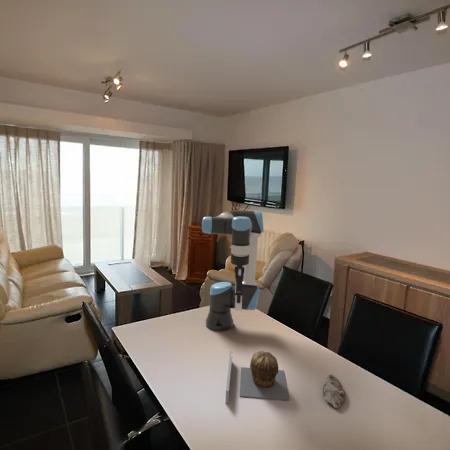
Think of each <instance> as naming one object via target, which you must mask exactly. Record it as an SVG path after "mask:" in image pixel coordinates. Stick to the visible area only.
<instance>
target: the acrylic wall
mask: <svg viewBox="0 0 450 450" xmlns="http://www.w3.org/2000/svg"><path fill="white" fill-rule="evenodd" d="M228 361H229V362H228V368H227V378H226V386H225V387H226V388H225V404H227V405H229V399H230V390H231V388H230V387H231V377H232V370H233V369H232V366H233V351H230V353H229V360H228Z"/></svg>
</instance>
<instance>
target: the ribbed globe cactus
mask: <svg viewBox="0 0 450 450" xmlns="http://www.w3.org/2000/svg"><path fill="white" fill-rule="evenodd" d="M249 368H251V372H252V377H253V381H254V382H255V384H256V385H258V386H260V387H263V388H267V387H271V386H273V385H275V378H276V375H277V373H278V370H279V363H278V359H277V358H276V357H275V355H273V354H272V353H271V352H269V351H264V350H259V351H257V352H255V353H253V354H252V357H251V360H250V364H249Z"/></svg>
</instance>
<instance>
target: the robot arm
mask: <svg viewBox="0 0 450 450" xmlns="http://www.w3.org/2000/svg"><path fill="white" fill-rule="evenodd" d="M201 220H202V221H201V231H202V233H204V234H209V235H224V236H225V235H227V236H231V245H230V246H229V249H230V250H231V254H230V264H231V265H234V280H235V285H234V286H233V285H232V283H231V282H228V281H220V282H216V283H213V284H212V285H211V286H210V289H209V290H210V291H209V309H208V314H207V317H206V318H205V326H206V327H207V328H208V329H210V330H212V331H217V332H219V331H220V332H221V331H222V332H224V331H228V330H231V329H232V328H233V327H234V319H233V315H232V312H231V311H232V310H231V309H234V310H235V311H242V310H243V311H244V310H245V311H256V309H257V307H258V306H257V305H258V302H259V296H260V290H261V289H260V288H258V284H257V283H256V273H257V272H256V271H257V270H256V269H257V257H258V239H259V238H260V237H261V236H262V233H264V217H263V213H262V212H261V211H258V210H257V211H256V210H236V209H233V210H227V211H224V212H222V213H220V214H219V215H217V216H204V217H203V218H202V219H201Z"/></svg>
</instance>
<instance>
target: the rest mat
mask: <svg viewBox="0 0 450 450" xmlns="http://www.w3.org/2000/svg"><path fill="white" fill-rule="evenodd" d="M239 397H240V398H250V399H251V398H252V399H253V398H254V399H260V400H261V399H264V400H265V399H266V400H276V401H290V397H289V391H288V385H287V380H286V374H285V370H284V369H283V370H281V369H278V373H277V375H276V378H275V385H273V386H271V387H267V388H263V387H260V386H258V385H256V384H255V382H254V381H253V377H252V372H251V368H250V367H247V366H240V381H239Z"/></svg>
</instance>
